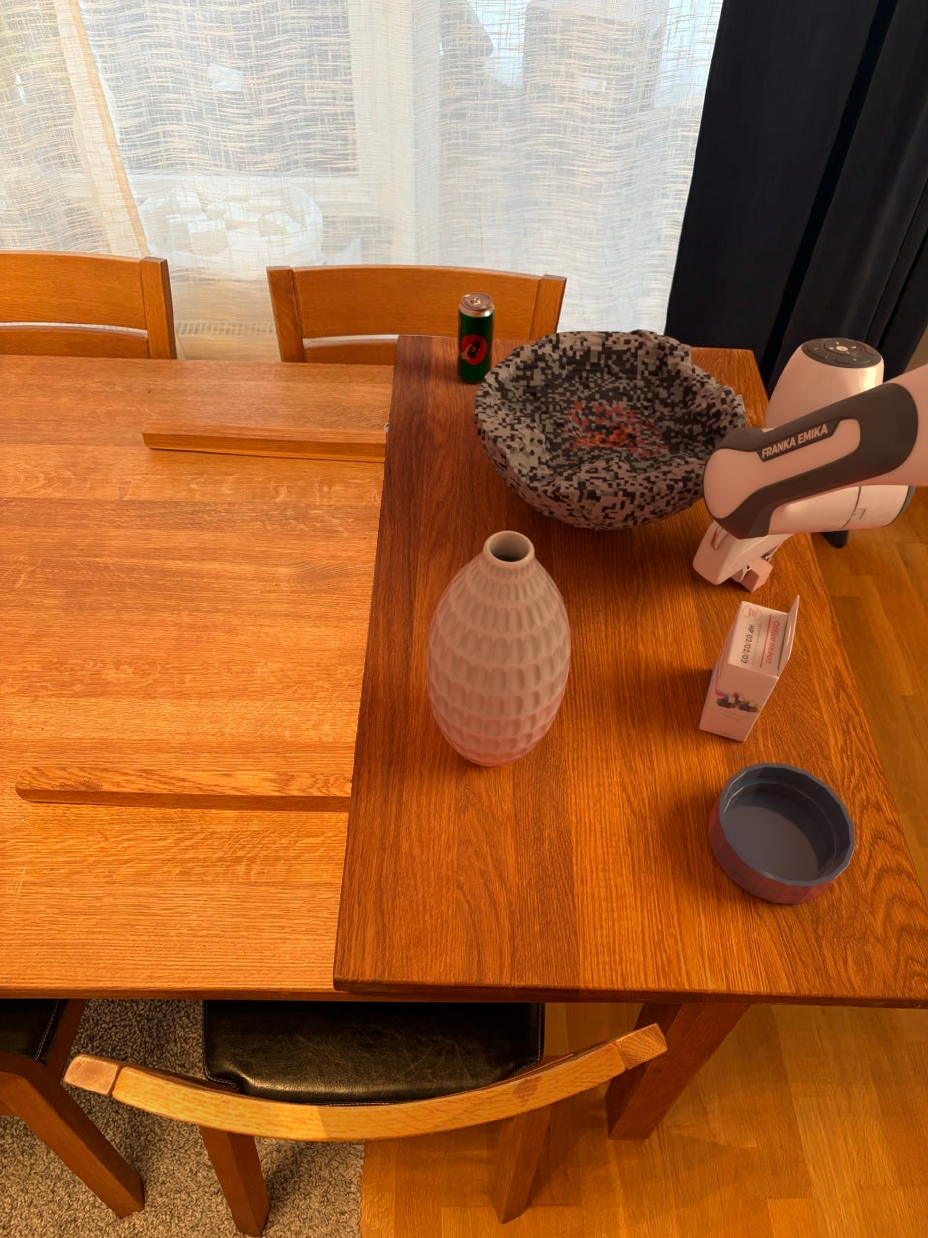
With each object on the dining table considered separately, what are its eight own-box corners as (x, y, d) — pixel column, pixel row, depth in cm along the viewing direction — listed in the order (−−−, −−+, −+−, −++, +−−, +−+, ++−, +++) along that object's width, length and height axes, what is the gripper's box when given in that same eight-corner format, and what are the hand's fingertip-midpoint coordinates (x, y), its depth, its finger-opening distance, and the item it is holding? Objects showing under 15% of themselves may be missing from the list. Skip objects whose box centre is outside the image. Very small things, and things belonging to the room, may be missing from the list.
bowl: (695, 421, 120) (724, 326, 109) (733, 588, 101) (772, 493, 89) (473, 412, 120) (478, 315, 109) (467, 577, 100) (471, 480, 89)
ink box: (710, 667, 93) (749, 577, 82) (756, 681, 92) (802, 591, 81) (696, 729, 88) (736, 642, 77) (745, 745, 87) (792, 659, 76)
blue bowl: (852, 824, 82) (871, 803, 78) (813, 932, 75) (831, 913, 72) (733, 764, 86) (746, 741, 82) (686, 861, 79) (698, 840, 76)
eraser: (765, 583, 101) (774, 566, 99) (750, 593, 100) (759, 575, 98) (733, 557, 104) (741, 540, 101) (718, 567, 103) (726, 549, 100)
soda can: (497, 379, 125) (502, 304, 116) (467, 389, 124) (470, 314, 114) (479, 361, 128) (483, 287, 119) (450, 371, 126) (451, 295, 117)
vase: (536, 812, 82) (575, 629, 60) (409, 777, 84) (402, 588, 62) (563, 705, 90) (606, 509, 68) (447, 676, 91) (452, 476, 70)
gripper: (744, 539, 84) (709, 626, 95) (868, 459, 93) (822, 547, 103) (696, 503, 87) (667, 592, 98) (820, 429, 96) (781, 518, 106)
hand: (748, 568), depth 101 cm, fingers closed on eraser, 2 cm apart
